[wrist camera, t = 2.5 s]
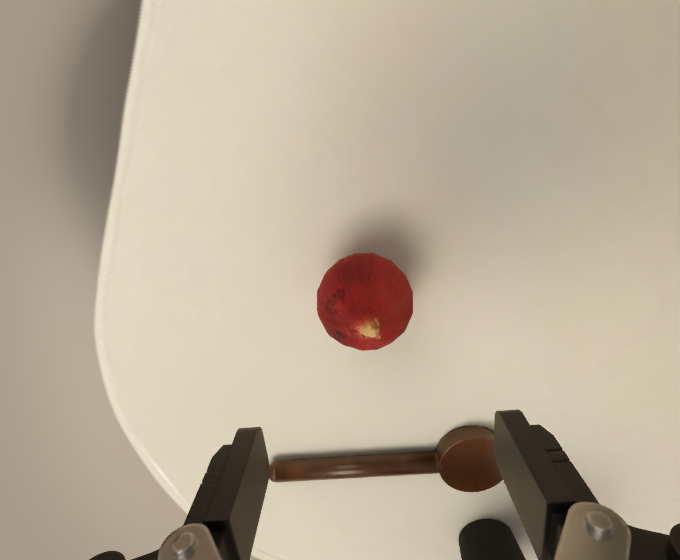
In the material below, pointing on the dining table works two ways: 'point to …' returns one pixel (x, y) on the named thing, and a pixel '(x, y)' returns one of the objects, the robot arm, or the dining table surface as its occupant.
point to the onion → (365, 301)
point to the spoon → (409, 463)
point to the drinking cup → (489, 542)
